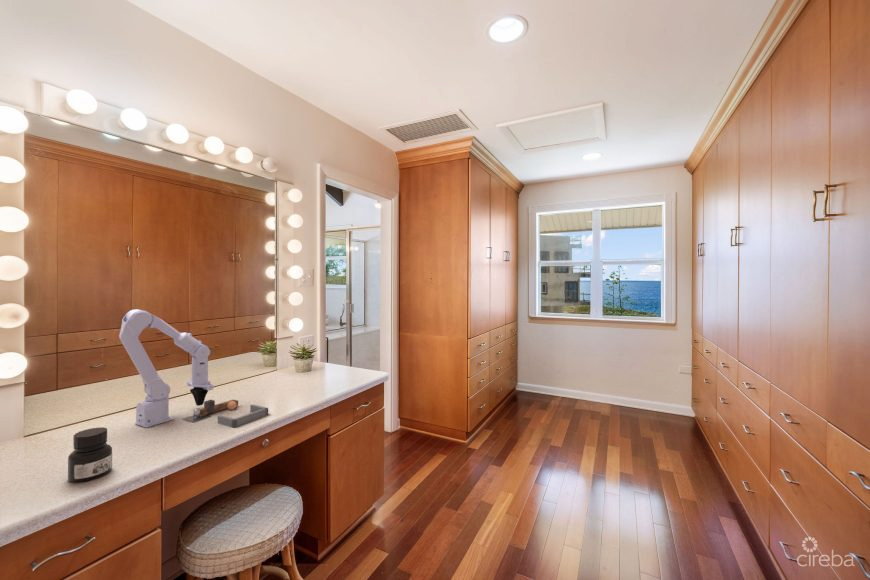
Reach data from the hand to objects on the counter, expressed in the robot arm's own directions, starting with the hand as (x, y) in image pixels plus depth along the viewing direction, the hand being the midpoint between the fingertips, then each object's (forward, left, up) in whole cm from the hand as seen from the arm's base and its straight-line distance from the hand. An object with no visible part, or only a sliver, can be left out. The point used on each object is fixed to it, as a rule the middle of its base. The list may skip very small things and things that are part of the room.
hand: (199, 405), depth 150 cm
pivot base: (-5, -6, -3) cm, 9 cm away
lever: (+4, -7, -2) cm, 8 cm away
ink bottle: (-44, -23, -3) cm, 50 cm away
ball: (+8, -9, -1) cm, 12 cm away
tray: (+3, -23, -3) cm, 24 cm away
